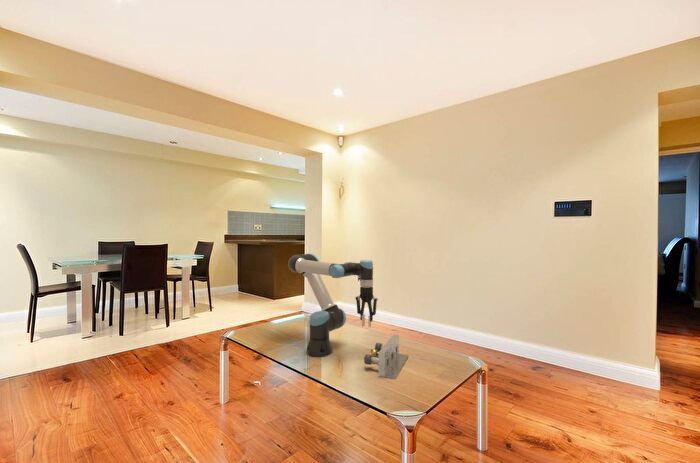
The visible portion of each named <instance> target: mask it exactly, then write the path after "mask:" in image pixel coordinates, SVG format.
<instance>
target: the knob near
mask: <svg viewBox="0 0 700 463" xmlns="http://www.w3.org/2000/svg"><path fill="white" fill-rule="evenodd" d="M363 359H364V360H363V362H364V365H370V366H371V365H372V364H378V365H379V357H373V356H372V355H371V353H365V355H364V358H363Z"/></svg>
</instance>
